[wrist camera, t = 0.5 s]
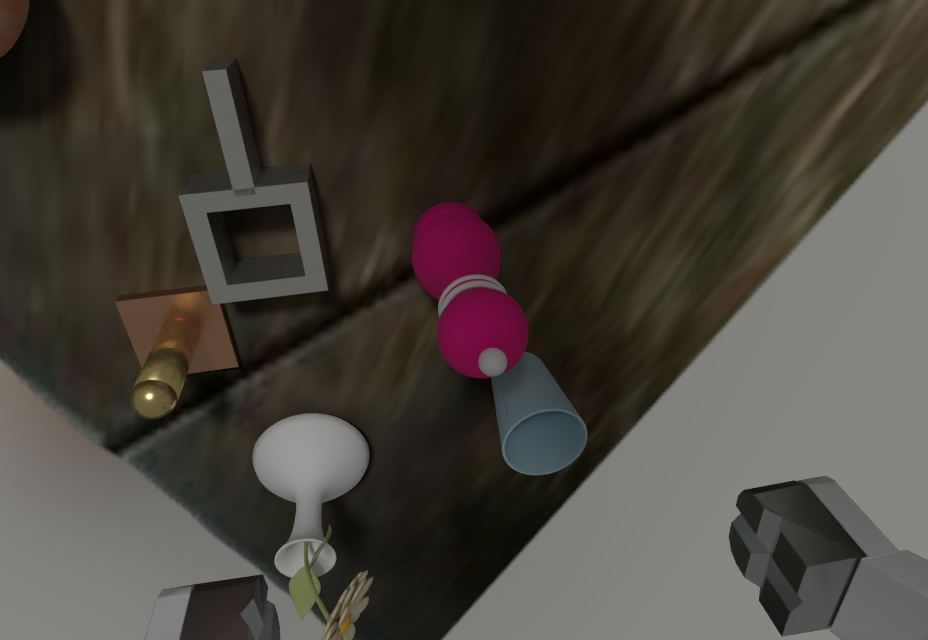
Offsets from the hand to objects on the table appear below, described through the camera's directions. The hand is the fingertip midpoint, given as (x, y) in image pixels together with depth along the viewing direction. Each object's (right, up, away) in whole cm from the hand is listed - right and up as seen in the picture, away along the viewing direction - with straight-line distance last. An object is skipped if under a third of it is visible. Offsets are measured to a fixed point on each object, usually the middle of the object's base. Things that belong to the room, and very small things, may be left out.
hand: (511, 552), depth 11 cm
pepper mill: (-2, +11, +44) cm, 45 cm away
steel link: (-17, +15, +38) cm, 45 cm away
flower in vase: (-16, -8, +53) cm, 56 cm away
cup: (+5, -1, +53) cm, 53 cm away
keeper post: (-25, +3, +44) cm, 51 cm away
